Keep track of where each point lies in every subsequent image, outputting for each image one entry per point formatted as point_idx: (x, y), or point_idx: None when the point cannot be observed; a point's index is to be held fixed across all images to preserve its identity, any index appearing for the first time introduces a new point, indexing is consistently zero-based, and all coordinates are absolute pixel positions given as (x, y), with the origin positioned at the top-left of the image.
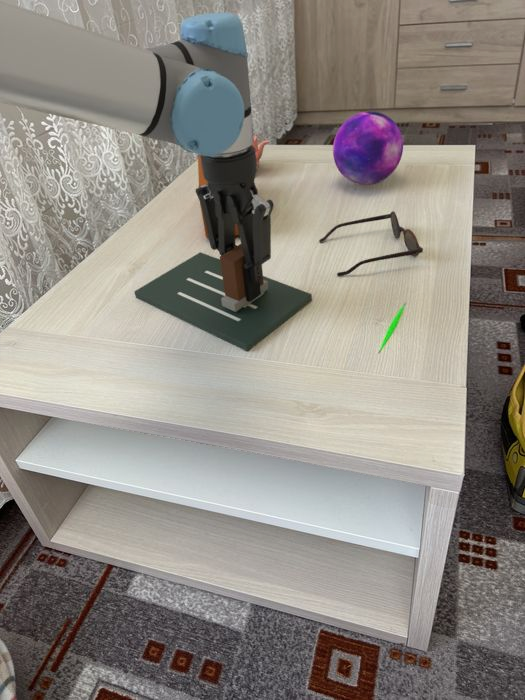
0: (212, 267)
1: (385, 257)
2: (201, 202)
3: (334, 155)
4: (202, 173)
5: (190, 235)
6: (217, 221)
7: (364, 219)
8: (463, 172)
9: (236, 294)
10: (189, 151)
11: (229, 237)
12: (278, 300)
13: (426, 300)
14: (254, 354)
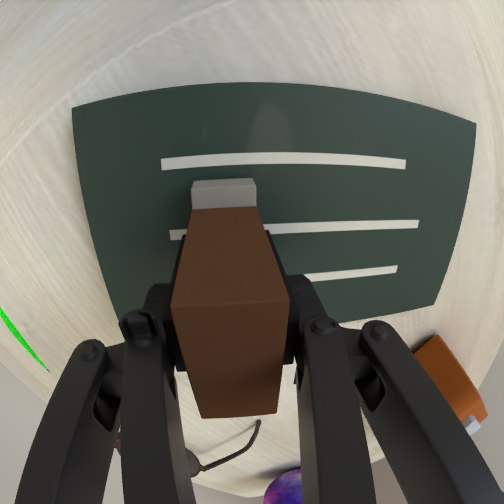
0: (390, 288)
1: None
2: (500, 499)
3: None
4: (480, 412)
5: (460, 321)
6: (400, 451)
7: (223, 461)
8: (224, 490)
9: (198, 217)
10: None
11: (305, 416)
12: None
13: (45, 382)
14: (63, 114)
